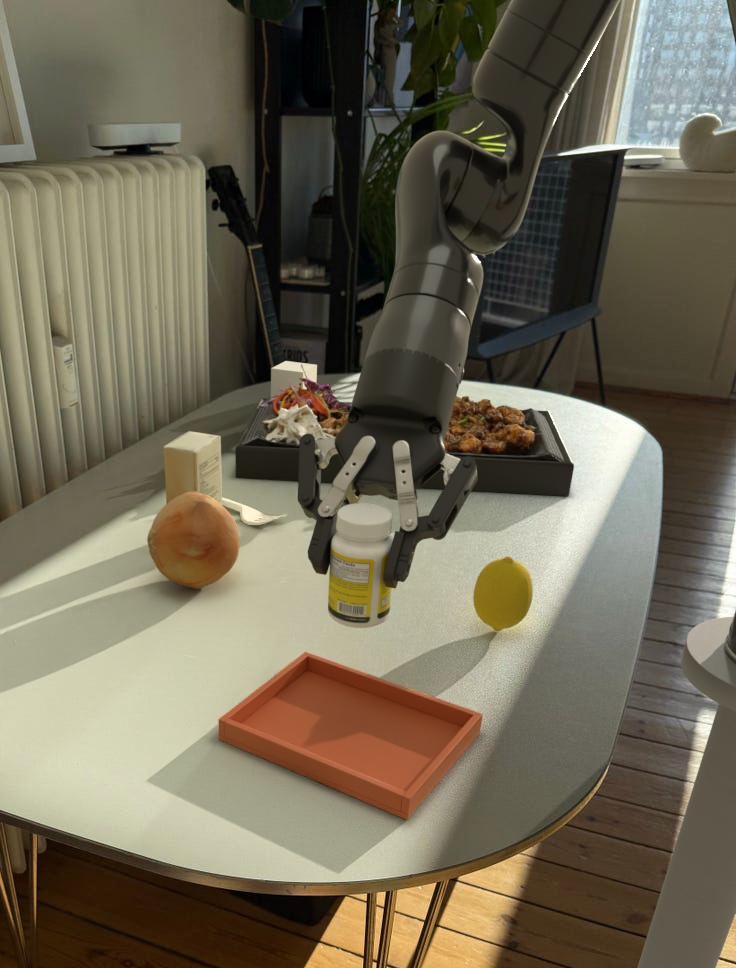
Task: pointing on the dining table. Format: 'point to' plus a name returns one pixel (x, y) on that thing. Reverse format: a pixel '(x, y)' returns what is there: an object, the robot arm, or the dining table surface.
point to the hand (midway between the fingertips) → (354, 576)
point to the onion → (194, 540)
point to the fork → (249, 513)
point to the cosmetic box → (193, 465)
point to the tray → (353, 732)
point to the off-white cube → (291, 376)
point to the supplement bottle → (360, 566)
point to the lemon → (503, 593)
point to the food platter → (471, 432)
